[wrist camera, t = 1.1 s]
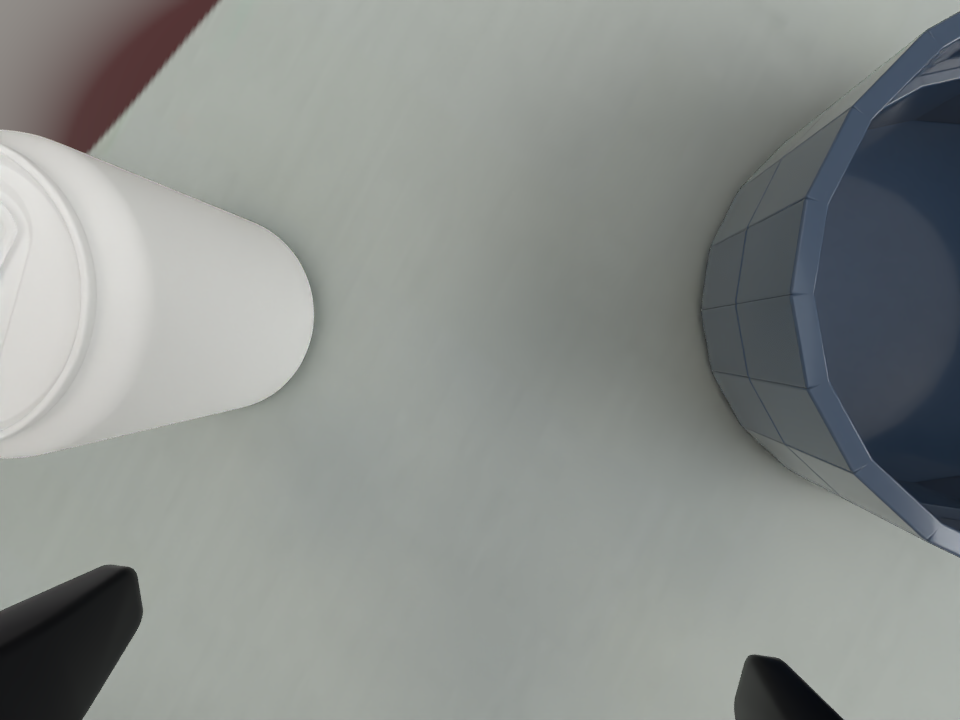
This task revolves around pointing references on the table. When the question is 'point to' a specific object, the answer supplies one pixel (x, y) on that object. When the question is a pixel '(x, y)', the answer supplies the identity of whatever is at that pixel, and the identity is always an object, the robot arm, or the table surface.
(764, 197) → the bowl
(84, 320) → the beverage can
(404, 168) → the table surface
